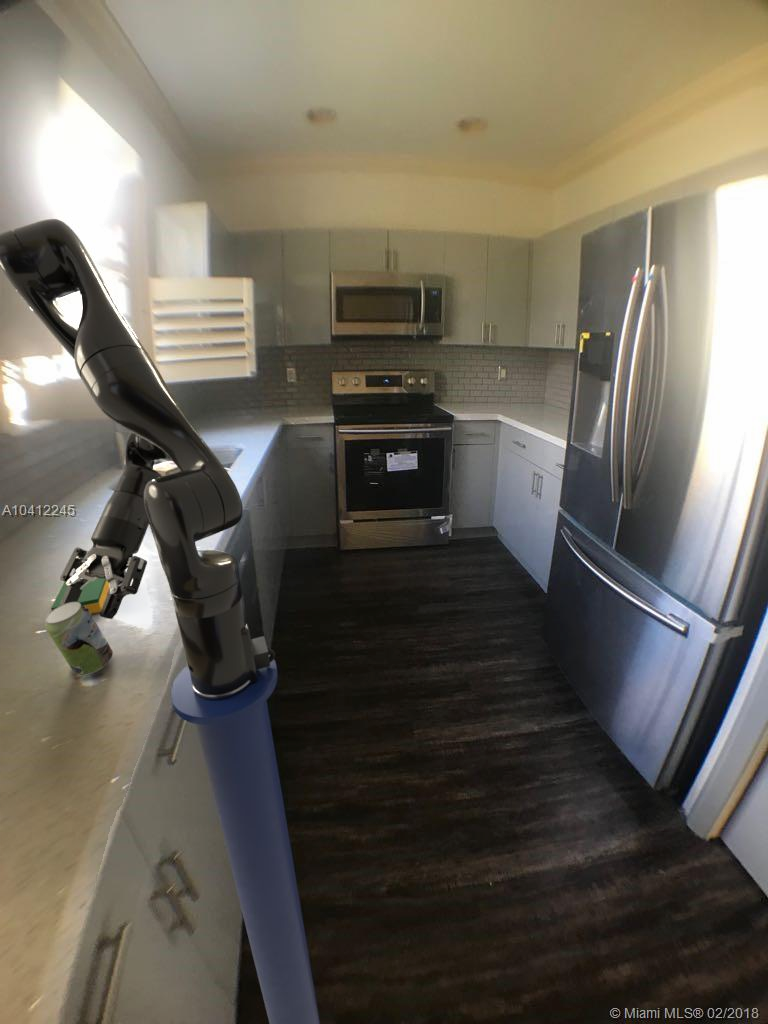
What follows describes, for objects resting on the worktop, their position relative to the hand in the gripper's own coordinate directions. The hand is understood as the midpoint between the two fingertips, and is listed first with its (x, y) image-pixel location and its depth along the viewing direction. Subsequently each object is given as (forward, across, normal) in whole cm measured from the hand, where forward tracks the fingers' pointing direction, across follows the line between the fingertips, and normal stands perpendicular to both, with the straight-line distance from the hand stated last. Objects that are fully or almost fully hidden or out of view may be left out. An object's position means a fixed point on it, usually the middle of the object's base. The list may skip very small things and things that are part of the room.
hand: (85, 613), depth 75 cm
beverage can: (+8, 0, +5) cm, 10 cm away
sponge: (-3, -19, +16) cm, 25 cm away
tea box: (-40, -37, +53) cm, 76 cm away
